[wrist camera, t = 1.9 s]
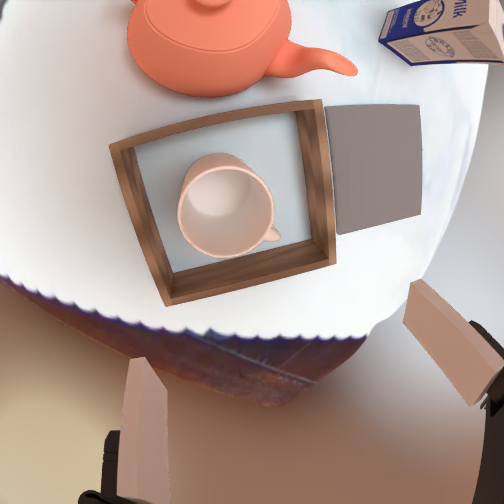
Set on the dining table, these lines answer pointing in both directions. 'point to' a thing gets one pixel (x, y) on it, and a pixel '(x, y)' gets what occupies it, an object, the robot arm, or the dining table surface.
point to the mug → (225, 207)
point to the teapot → (221, 45)
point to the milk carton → (446, 32)
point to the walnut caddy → (250, 266)
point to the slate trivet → (375, 163)
